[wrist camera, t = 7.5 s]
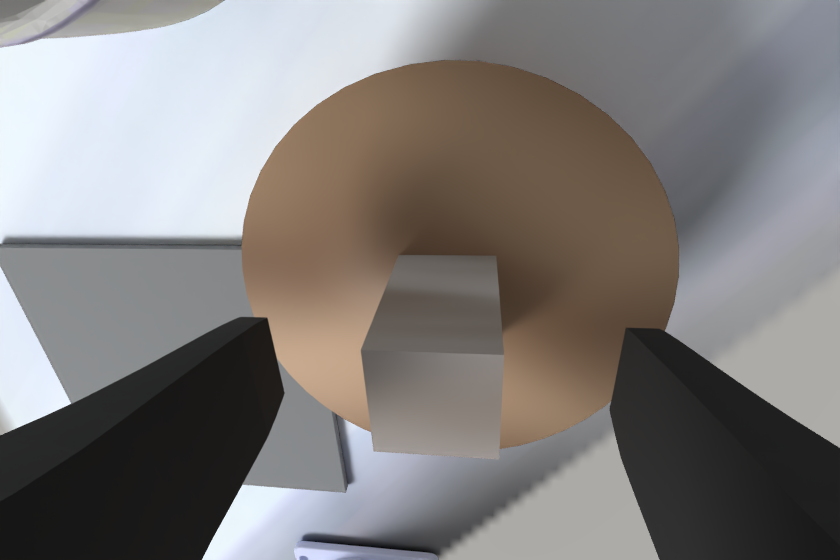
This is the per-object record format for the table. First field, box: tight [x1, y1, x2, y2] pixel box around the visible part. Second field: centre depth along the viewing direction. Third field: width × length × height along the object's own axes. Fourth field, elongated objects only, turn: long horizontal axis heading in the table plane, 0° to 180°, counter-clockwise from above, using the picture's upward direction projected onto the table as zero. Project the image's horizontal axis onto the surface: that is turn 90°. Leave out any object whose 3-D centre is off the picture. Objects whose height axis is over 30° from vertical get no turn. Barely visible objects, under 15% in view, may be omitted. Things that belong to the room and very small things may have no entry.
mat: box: [0, 244, 348, 493], centre depth 20 cm, size 13×13×1 cm
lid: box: [241, 60, 679, 459], centre depth 10 cm, size 11×11×5 cm
